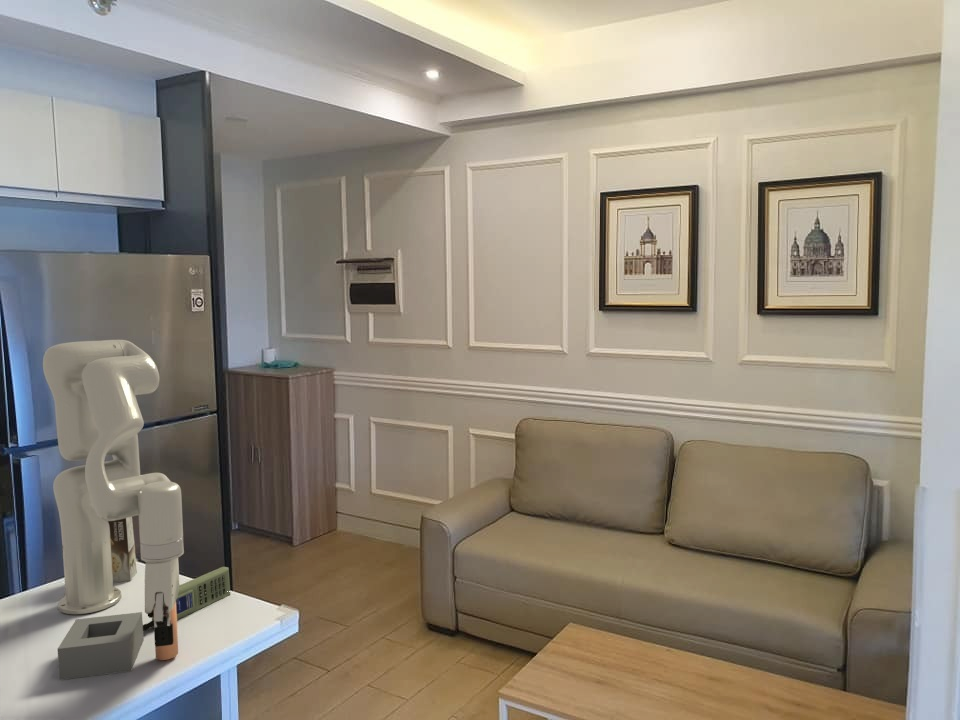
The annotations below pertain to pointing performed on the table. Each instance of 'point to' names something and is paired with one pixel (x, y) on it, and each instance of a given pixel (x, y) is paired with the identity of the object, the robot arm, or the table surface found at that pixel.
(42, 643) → the table surface
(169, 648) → the peg
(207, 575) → the handheld radio
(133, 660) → the socket block
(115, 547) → the coffee box
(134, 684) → the table surface
